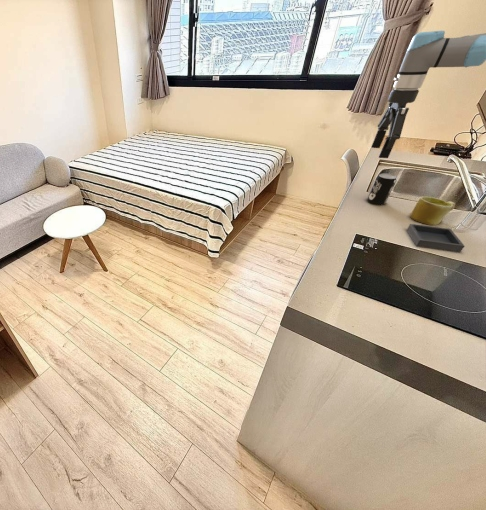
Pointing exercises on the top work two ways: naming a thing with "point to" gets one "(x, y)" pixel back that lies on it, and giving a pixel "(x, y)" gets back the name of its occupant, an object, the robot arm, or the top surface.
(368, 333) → the top surface
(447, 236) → the dark grey tray
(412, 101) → the robot arm
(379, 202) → the beverage can
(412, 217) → the mug
